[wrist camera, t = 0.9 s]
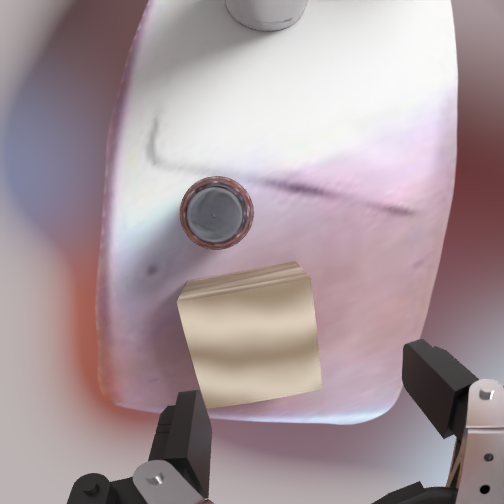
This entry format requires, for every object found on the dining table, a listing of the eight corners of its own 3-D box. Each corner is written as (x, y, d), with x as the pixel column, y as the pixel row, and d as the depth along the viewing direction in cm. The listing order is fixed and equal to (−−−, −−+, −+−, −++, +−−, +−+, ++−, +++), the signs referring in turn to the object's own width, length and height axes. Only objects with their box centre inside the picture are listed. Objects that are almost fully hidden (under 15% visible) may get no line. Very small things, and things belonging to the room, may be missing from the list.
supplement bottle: (244, 240, 35) (250, 263, 23) (188, 233, 34) (168, 253, 23) (252, 184, 33) (261, 179, 22) (195, 176, 33) (177, 169, 22)
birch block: (187, 280, 35) (176, 302, 28) (296, 261, 35) (310, 278, 28) (210, 374, 37) (206, 408, 30) (308, 357, 37) (322, 388, 31)
